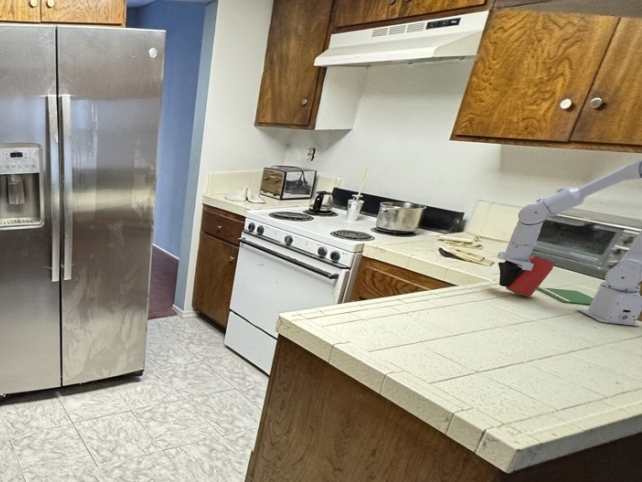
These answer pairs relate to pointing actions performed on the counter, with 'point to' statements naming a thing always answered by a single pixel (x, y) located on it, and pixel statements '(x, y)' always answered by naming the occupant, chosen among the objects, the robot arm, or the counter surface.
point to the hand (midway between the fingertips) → (504, 285)
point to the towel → (567, 296)
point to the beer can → (532, 276)
